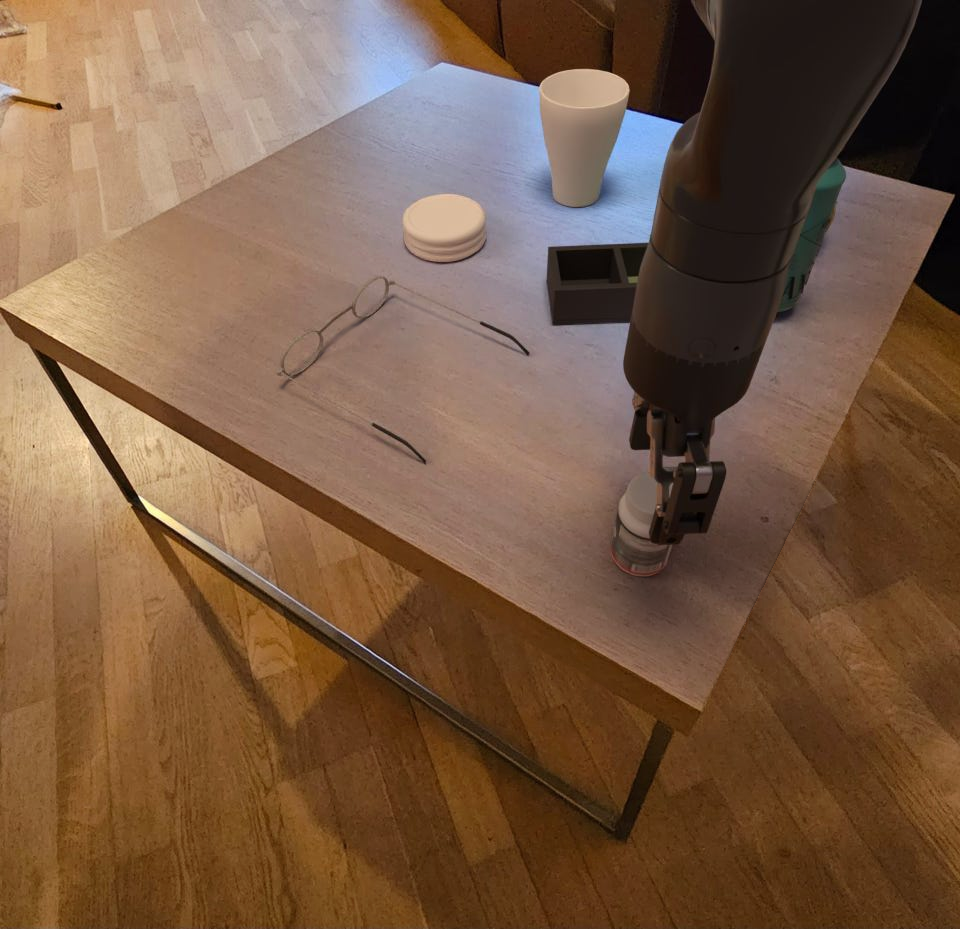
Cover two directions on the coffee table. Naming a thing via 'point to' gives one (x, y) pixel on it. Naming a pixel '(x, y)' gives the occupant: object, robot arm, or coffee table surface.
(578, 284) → the holder
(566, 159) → the cup
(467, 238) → the white jar lid
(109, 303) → the coffee table surface
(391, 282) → the eyeglasses
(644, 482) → the pill bottle
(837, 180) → the beverage bottle
